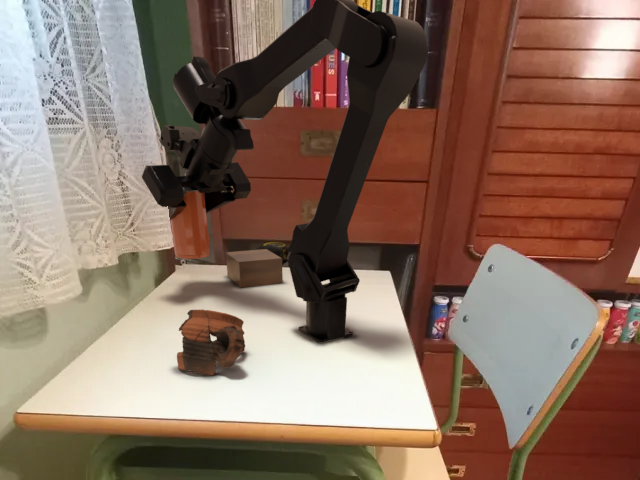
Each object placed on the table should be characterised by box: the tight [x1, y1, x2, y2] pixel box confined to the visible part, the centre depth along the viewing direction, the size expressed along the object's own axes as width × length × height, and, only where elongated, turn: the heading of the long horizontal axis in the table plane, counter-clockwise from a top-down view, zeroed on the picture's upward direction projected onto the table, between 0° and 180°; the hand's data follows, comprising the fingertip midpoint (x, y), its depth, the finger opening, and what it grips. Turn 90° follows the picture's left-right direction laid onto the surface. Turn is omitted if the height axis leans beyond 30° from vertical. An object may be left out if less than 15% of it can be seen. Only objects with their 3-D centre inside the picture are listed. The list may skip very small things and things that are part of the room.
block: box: [225, 249, 283, 289], centre depth 99 cm, size 9×9×5 cm
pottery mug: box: [176, 309, 246, 376], centre depth 64 cm, size 12×10×8 cm
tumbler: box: [169, 191, 211, 260], centre depth 87 cm, size 6×6×12 cm
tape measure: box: [256, 241, 290, 262], centre depth 114 cm, size 7×7×4 cm
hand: (184, 216), depth 88 cm, fingers closed on tumbler, 6 cm apart
